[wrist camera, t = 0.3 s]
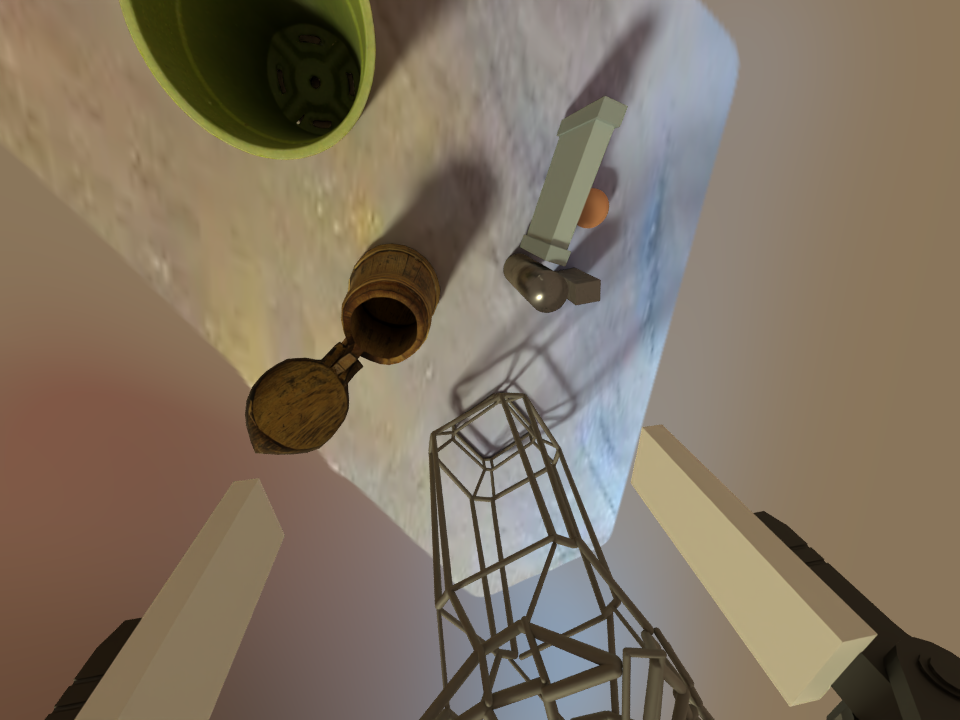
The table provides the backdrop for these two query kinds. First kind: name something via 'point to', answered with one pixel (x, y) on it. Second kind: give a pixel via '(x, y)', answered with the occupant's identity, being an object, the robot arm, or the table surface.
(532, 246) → the grey-green flanged panel
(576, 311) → the table surface
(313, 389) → the wooden mug
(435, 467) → the geometric lantern
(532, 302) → the hinge post
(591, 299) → the block
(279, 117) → the plant pot
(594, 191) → the ball
